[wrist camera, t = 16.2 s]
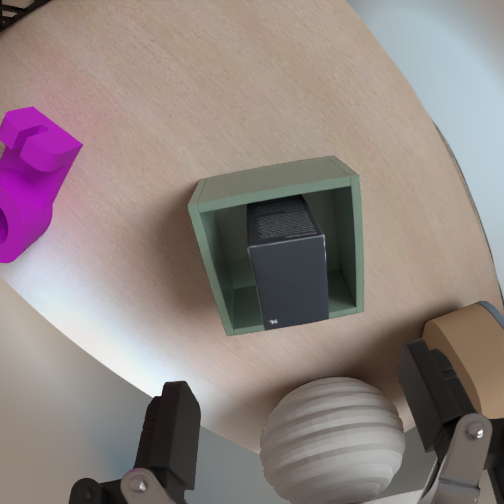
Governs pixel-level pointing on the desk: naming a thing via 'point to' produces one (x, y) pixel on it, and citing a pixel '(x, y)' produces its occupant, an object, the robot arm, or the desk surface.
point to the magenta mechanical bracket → (30, 177)
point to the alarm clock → (473, 352)
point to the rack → (20, 12)
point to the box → (287, 262)
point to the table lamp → (334, 444)
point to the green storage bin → (235, 233)
